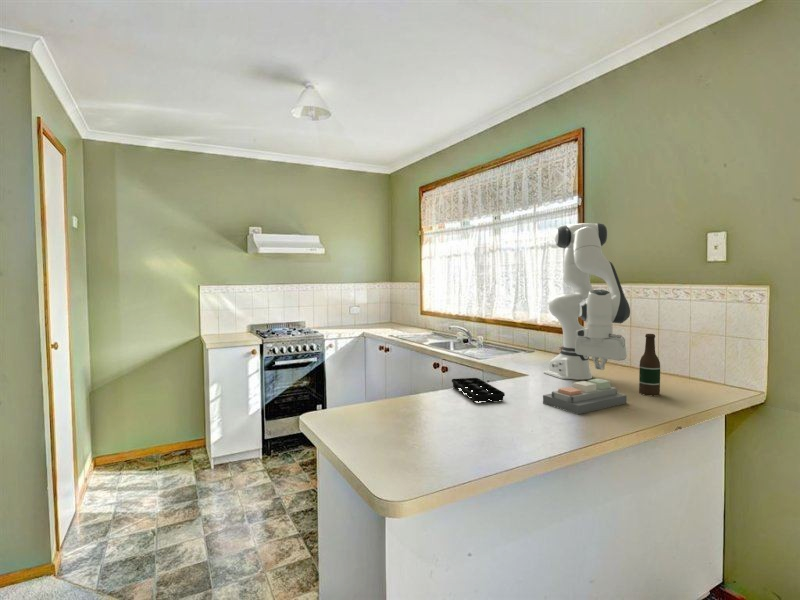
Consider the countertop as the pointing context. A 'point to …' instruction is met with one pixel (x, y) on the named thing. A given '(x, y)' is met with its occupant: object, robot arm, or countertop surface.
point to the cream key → (585, 386)
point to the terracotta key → (569, 391)
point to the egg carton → (478, 389)
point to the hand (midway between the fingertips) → (599, 369)
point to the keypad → (586, 400)
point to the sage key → (600, 383)
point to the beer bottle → (649, 369)
